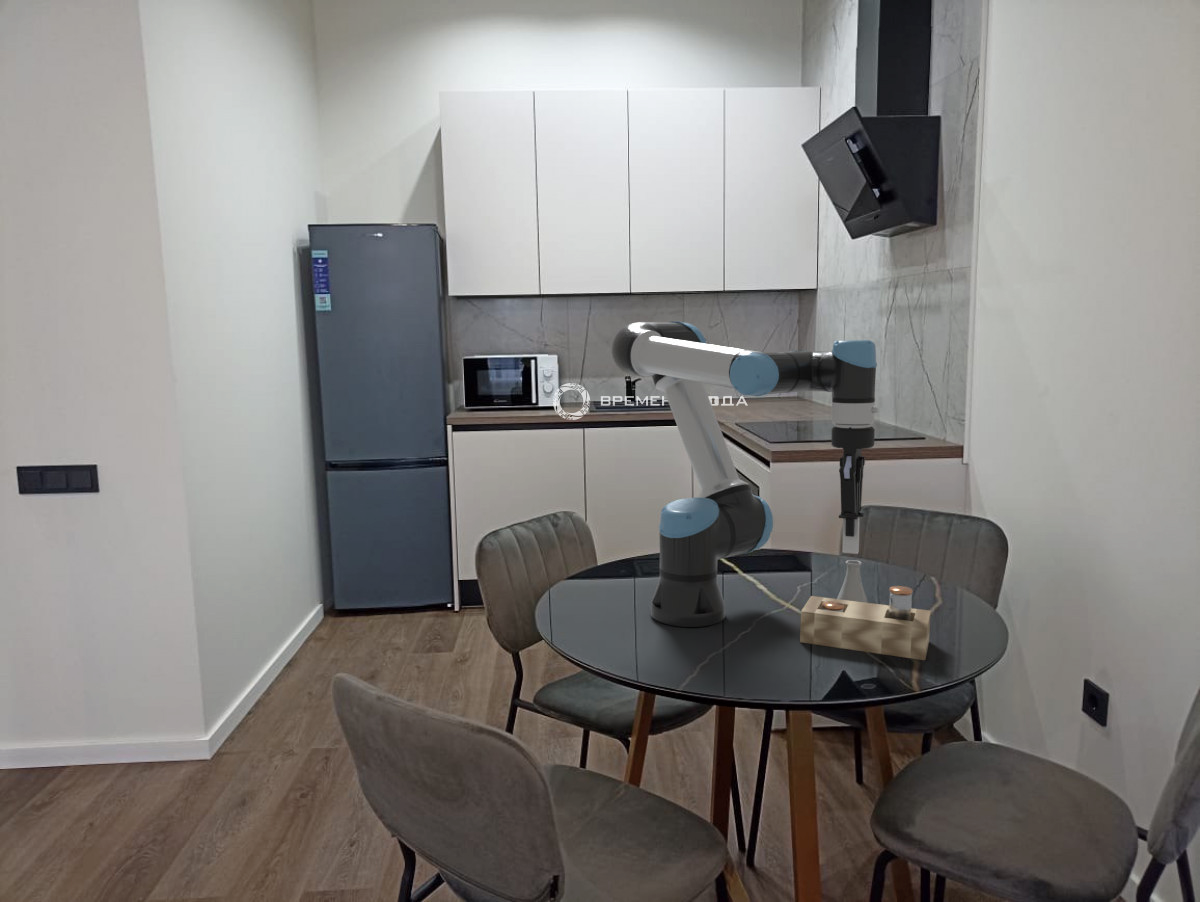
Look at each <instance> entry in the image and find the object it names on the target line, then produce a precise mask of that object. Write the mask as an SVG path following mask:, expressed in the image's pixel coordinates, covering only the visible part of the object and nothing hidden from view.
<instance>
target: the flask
mask: <svg viewBox="0 0 1200 902" xmlns="http://www.w3.org/2000/svg"><path fill="white" fill-rule="evenodd" d="M845 565H846V572H845V573H846V574H845V576H844V580H843V583H842V585H841V588H840V591H839V593H838V595H837V597H836V599H840V600H848V601H857V602H865V603H869V602H868V598H867V595H866V593H865V588H864V586H863V583H862V578H861V566H862V561H861V560H855V559H854V560H853V559H847V560H846V561H845Z"/></svg>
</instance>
